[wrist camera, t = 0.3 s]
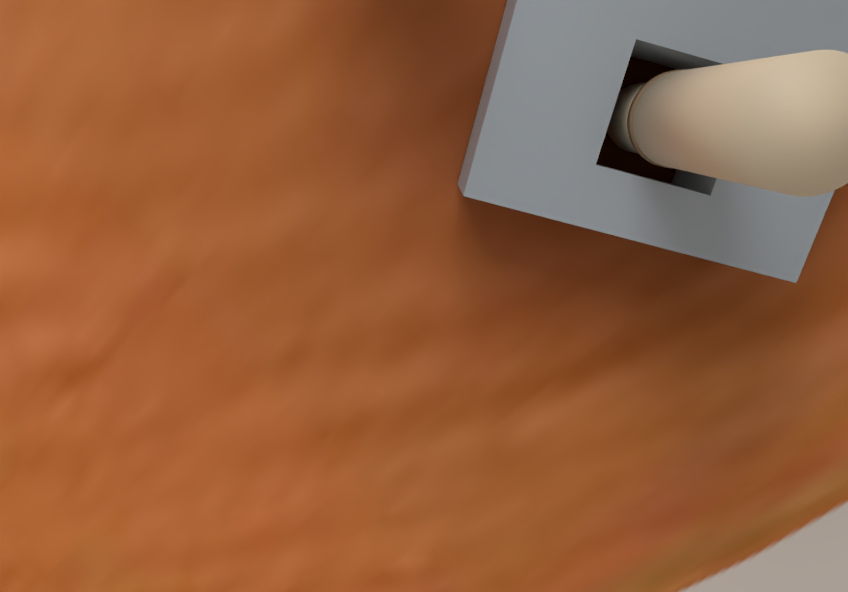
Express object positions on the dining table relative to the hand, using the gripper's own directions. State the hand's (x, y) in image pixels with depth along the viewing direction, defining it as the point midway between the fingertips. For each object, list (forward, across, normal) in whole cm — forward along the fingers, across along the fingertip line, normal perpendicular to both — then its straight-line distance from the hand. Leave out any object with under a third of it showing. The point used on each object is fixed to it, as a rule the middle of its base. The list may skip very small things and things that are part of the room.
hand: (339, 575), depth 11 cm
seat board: (+27, +10, +14) cm, 32 cm away
